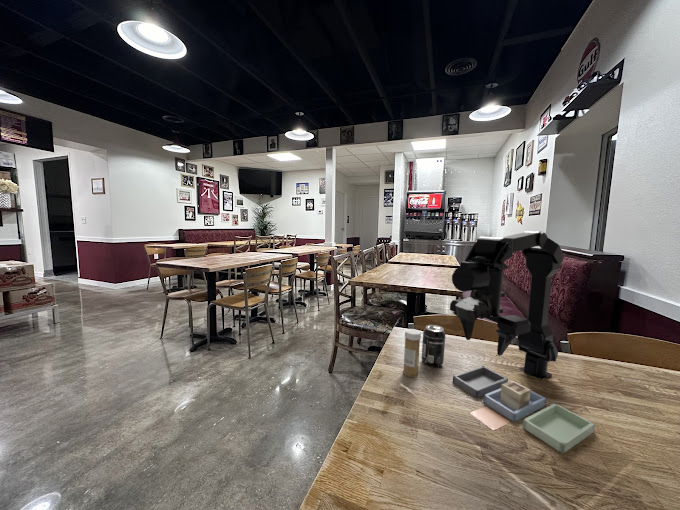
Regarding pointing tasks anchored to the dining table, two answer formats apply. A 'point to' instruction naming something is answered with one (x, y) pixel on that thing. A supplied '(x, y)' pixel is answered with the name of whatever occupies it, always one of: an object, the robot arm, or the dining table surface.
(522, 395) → the letter cube
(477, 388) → the charcoal tray
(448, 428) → the dining table surface
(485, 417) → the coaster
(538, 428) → the green tray
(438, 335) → the beverage can
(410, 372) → the sprinkles bottle
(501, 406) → the slate tray
